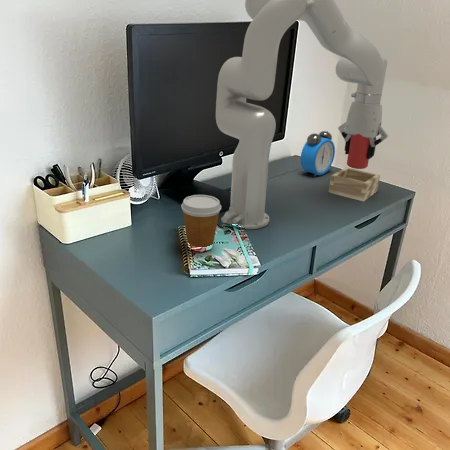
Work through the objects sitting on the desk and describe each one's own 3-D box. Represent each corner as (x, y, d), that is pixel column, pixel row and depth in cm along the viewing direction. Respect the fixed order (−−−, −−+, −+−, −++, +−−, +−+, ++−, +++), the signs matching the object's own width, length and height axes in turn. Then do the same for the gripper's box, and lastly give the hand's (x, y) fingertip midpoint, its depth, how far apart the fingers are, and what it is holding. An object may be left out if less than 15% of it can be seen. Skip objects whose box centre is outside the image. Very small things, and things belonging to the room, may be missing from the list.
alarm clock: (311, 179, 173) (316, 137, 167) (297, 174, 177) (302, 133, 171) (332, 172, 182) (338, 131, 176) (318, 167, 186) (324, 128, 180)
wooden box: (363, 202, 156) (366, 184, 154) (328, 193, 162) (330, 175, 160) (376, 192, 165) (380, 175, 163) (343, 184, 171) (345, 167, 169)
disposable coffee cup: (194, 234, 128) (195, 191, 123) (226, 244, 124) (228, 199, 119) (173, 248, 121) (173, 202, 116) (206, 259, 117) (207, 212, 112)
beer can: (369, 170, 157) (376, 132, 152) (348, 169, 157) (354, 131, 152) (364, 164, 163) (370, 127, 158) (344, 162, 163) (350, 126, 158)
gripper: (336, 96, 153) (328, 152, 160) (392, 104, 144) (381, 164, 151) (346, 93, 158) (338, 148, 166) (400, 101, 149) (389, 159, 157)
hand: (358, 155), depth 158 cm, fingers closed on beer can, 6 cm apart
